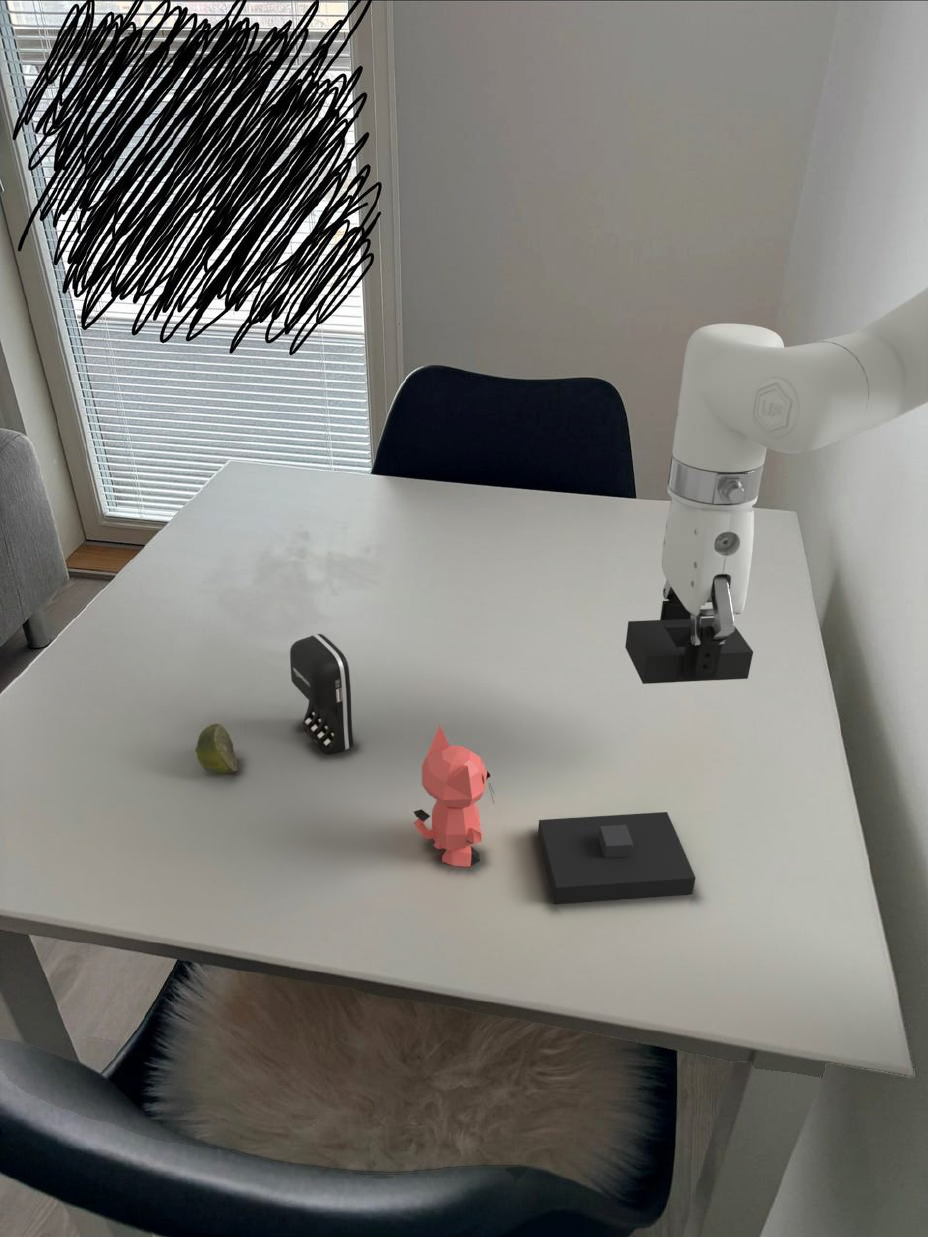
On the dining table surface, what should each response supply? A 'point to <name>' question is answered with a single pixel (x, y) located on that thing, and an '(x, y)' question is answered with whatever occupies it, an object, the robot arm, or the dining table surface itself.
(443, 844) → the cat figurine
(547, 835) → the base pad
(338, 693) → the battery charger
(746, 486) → the robot arm
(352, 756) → the dining table surface
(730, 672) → the black socket block
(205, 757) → the lime
